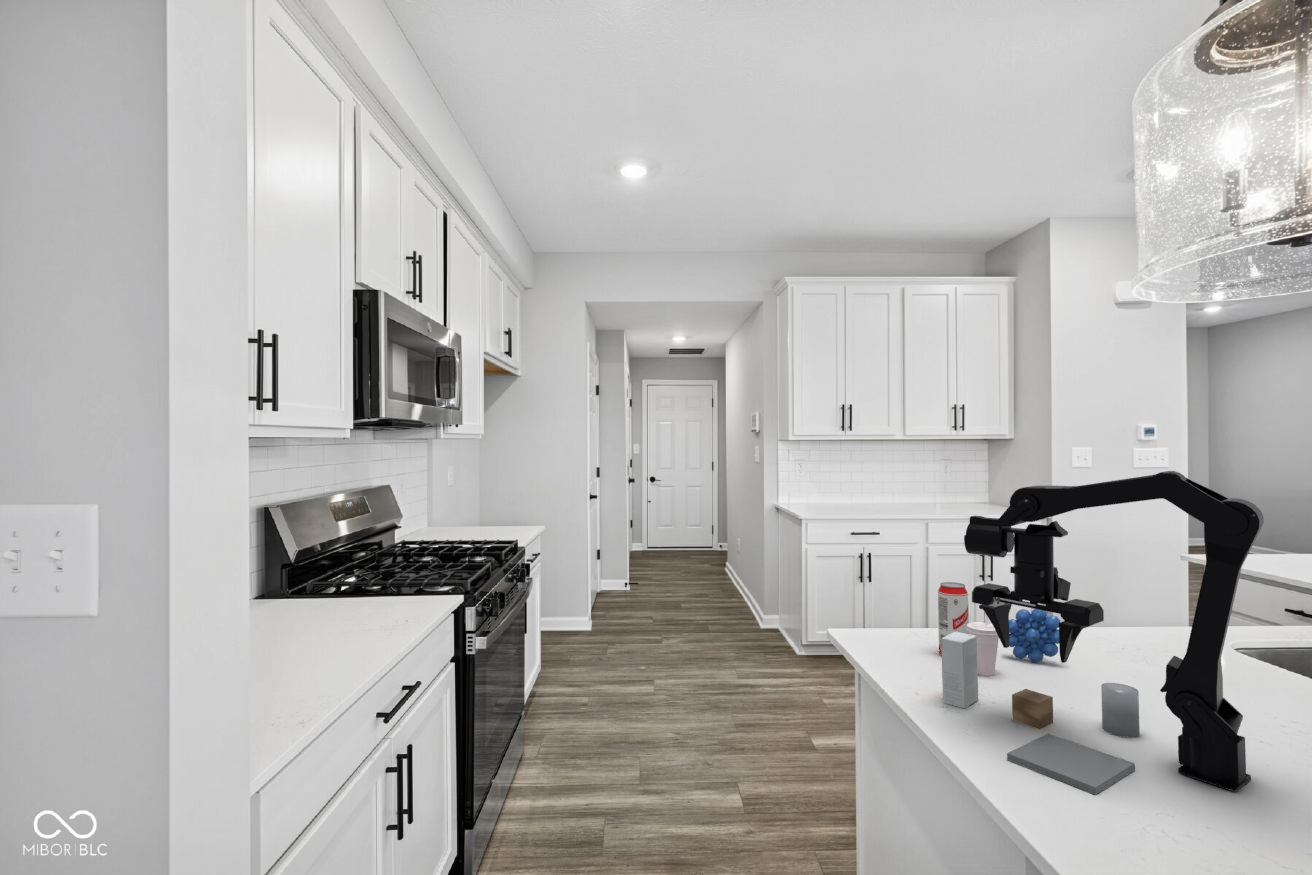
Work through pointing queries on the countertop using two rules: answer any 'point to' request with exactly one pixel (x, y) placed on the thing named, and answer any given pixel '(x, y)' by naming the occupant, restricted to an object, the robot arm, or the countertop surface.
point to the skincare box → (959, 669)
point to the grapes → (1034, 634)
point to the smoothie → (985, 646)
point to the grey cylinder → (1120, 710)
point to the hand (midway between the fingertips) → (1034, 654)
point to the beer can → (952, 609)
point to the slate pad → (1071, 763)
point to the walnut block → (1032, 708)
